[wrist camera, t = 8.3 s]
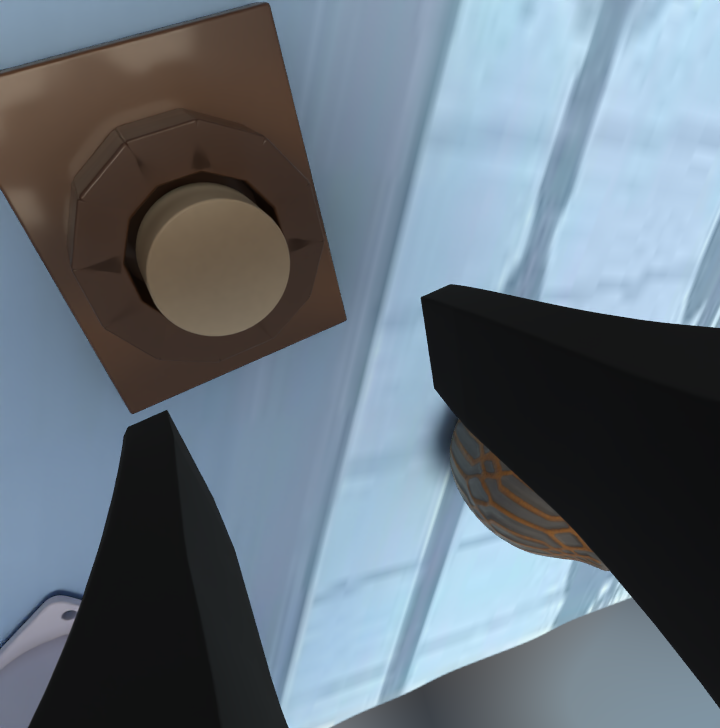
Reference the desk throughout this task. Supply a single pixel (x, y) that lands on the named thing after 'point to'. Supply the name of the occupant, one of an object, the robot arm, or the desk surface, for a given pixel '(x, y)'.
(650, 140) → the desk surface
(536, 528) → the vase
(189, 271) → the button
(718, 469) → the robot arm
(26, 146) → the control block
